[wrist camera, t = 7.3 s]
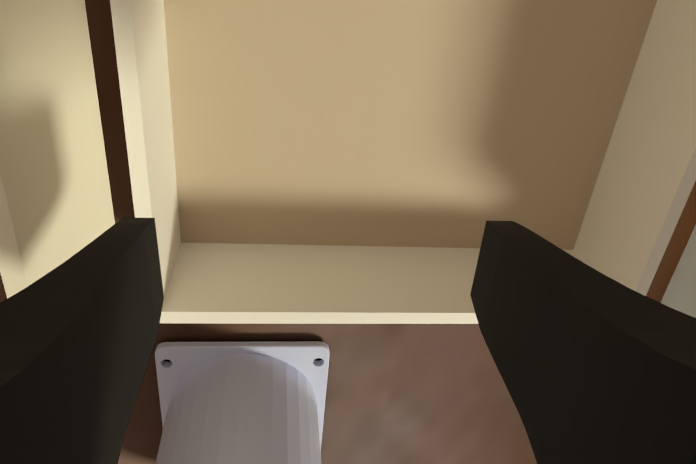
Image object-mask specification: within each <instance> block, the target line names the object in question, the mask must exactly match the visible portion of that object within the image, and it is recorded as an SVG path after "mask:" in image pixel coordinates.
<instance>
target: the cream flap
mask: <svg viewBox="0 0 696 464" xmlns="http://www.w3.org/2000/svg"><path fill="white" fill-rule="evenodd" d="M114 224H115V220H114V213H113V205H112V198H111V191H110V183H109V176H108V169H107V161H106V154H105V146H104V139H103V132H102V124H101V117H100V110H99V102H98V95H97V88H96V80H95V73H94V66H93V58H92V51H91V44H90V36H89V29H88V22H87V14H86V7H85V0H0V273H1V277H2V281H3V285H4V288H5V292H6V296H7V299H8V298H9V297H11V296H13V295H15V294H16V293H18V292H20V291H21V290H23V289H25V288H26V287H28V286H29V285H31V284H32V283H34V282H35V281H37V280H38V279H40V278H41V277H43V276H44V275H46V274H47V273H49V272H50V271H52V270H53V269H55V268H56V267H58V266H59V265H61V264H62V263H64V262H65V261H67V260H68V259H69V258H71V257H72V256H73V255H75V254H76V253H77V252H79V251H80V250H81V249H83V248H84V247H85V246H87V245H88V244H89V243H91V242H92V241H93V240H95V239H96V238H97V237H99V236H100V235H101V234H102V233H104V232H105V231H106V230H108V229H109V228H110V227H112V226H113V225H114Z"/></svg>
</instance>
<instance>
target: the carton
mask: <svg viewBox="0 0 696 464" xmlns="http://www.w3.org/2000/svg"><path fill="white" fill-rule="evenodd" d="M110 6H111V14H112V23H113V32H114V40H115V49H116V58H117V66H118V75H119V84H120V92H121V101H122V110H123V119H124V127H125V136H126V145H127V153H128V162H129V171H130V179H131V188H132V197H133V205H134V214H135V218H155V226H156V234H157V242H158V251H159V259H160V268H161V276H162V285H163V293H164V300H163V306H162V312H161V317H160V323H271V324H478V320H477V317H476V314H475V310H474V307H473V303H472V299H471V296H470V293H471V289H472V284H473V280H474V275H475V270H476V266H477V261H478V256H479V252H480V247H481V243H482V238H483V233H484V229H485V224H486V221H514V222H516V223H518V224H520V225H522V226H524V227H526V228H527V229H529V230H531V231H533V232H534V233H536V234H538V235H539V236H541V237H543V238H544V239H546V240H547V241H549V242H551V243H552V244H554V245H556V246H557V247H559V248H560V249H562V250H564V251H565V252H567V253H568V254H570V255H572V256H573V257H575V258H577V259H578V260H580V261H582V262H583V263H585V264H587V265H588V266H590V267H592V268H594V269H595V270H597V271H599V272H600V273H602V274H604V275H606V276H608V277H610V278H611V279H613V280H615V281H617V282H619V283H621V284H622V285H624V286H626V287H628V288H630V289H632V290H634V291H636V292H638V293H640V294H642V295H644V296H646V294H647V292H648V289H649V287H650V285H651V282H652V280H653V278H654V276H655V273H656V271H657V269H658V266H659V264H660V262H661V259H662V257H663V255H664V252H665V250H666V248H667V245H668V243H669V241H670V238H671V236H672V234H673V232H674V229H675V227H676V225H677V222H678V220H679V218H680V215H681V213H682V211H683V208H684V206H685V204H686V201H687V199H688V197H689V194H690V192H691V190H692V187H693V185H694V183H695V181H696V0H110Z"/></svg>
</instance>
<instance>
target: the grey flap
mask: <svg viewBox="0 0 696 464" xmlns="http://www.w3.org/2000/svg"><path fill="white" fill-rule="evenodd" d="M661 303H662V304H664V305H666V306H668V307H671V308H673V309H675V310H677V311H680V312H682V313H685V314H687V315H690V316H692V317H695V318H696V225H695V228H694V230H693V232H692V234H691V236H690V239H689V241H688V243H687V245H686V247H685V250H684V252H683V254H682V256H681V259H680V261H679V263H678V265H677V267H676V270H675V272H674V274H673V276H672V278H671V281H670V283H669V285H668V287H667V290H666V292H665V294H664V296H663V298H662V301H661Z"/></svg>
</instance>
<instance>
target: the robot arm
mask: <svg viewBox="0 0 696 464" xmlns="http://www.w3.org/2000/svg"><path fill="white" fill-rule="evenodd" d="M470 296H471V299H472V303H473V307H474V310H475V314H476V317H477V320H478V324H479V327H480V330H481V333H482V335H483V337H484V339H485V342H486V344H487V346H488V348H489V350H490V353H491V355H492V357H493V359H494V361H495V363H496V365H497V368H498V370H499V372H500V374H501V376H502V378H503V380H504V382H505V384H506V387H507V389H508V391H509V393H510V395H511V397H512V399H513V401H514V404H515V406H516V408H517V410H518V412H519V414H520V417H521V419H522V422H523V424H524V426H525V429H526V432H527V434H528V437H529V440H530V443H531V446H532V449H533V452H534V455H535V458H536V461H537V464H696V318H695V317H692V316H690V315H687V314H685V313H682V312H680V311H677V310H675V309H673V308H671V307H668V306H666V305H664V304H662V303H660V302H657V301H655V300H653V299H651V298H649V297H646V296H644V295H642V294H640V293H638V292H636V291H634V290H632V289H630V288H628V287H626V286H624V285H622V284H621V283H619V282H617V281H615V280H613V279H611V278H610V277H608V276H606V275H604V274H602V273H600V272H599V271H597V270H595V269H594V268H592V267H590V266H588V265H587V264H585V263H583V262H582V261H580V260H578V259H577V258H575V257H573V256H572V255H570V254H568V253H567V252H565V251H564V250H562V249H560V248H559V247H557V246H556V245H554V244H552V243H551V242H549V241H547V240H546V239H544V238H543V237H541V236H539V235H538V234H536V233H534V232H533V231H531V230H529V229H527V228H526V227H524V226H522V225H520V224H518V223H516V222H514V221H486V224H485V229H484V233H483V238H482V243H481V247H480V252H479V256H478V261H477V266H476V270H475V275H474V280H473V284H472V289H471V293H470ZM163 300H164V293H163V285H162V276H161V268H160V259H159V251H158V242H157V234H156V226H155V218H123V219H121V220H120V221H118V222H117V223H116V224H114V225H113V226H112V227H110V228H109V229H108V230H106V231H105V232H104V233H102V234H101V235H100V236H99V237H97V238H96V239H95V240H93V241H92V242H91V243H89V244H88V245H87V246H85V247H84V248H83V249H81V250H80V251H79V252H77V253H76V254H75V255H73V256H72V257H71V258H69V259H68V260H67V261H65V262H64V263H62V264H61V265H59V266H58V267H56V268H55V269H53V270H52V271H50V272H49V273H47V274H46V275H44V276H43V277H41V278H40V279H38V280H37V281H35V282H34V283H32V284H31V285H29V286H28V287H26V288H25V289H23V290H21V291H20V292H18V293H16V294H15V295H13V296H11V297H9V298H8V299H6V300H4V301H2V302H1V303H0V464H118V460H119V455H120V451H121V446H122V443H123V439H124V436H125V432H126V428H127V425H128V422H129V419H130V416H131V413H132V410H133V407H134V404H135V401H136V398H137V395H138V392H139V389H140V386H141V383H142V380H143V377H144V374H145V372H146V369H147V366H148V362H149V359H150V356H151V353H152V350H153V347H154V344H155V341H156V338H157V333H158V328H159V323H160V317H161V312H162V306H163ZM329 356H330V352H329V346H328V345H327V344H326V343H324V342H320V341H298V342H163V343H160V344H158V346H157V347H156V350H155V363H156V372H157V381H158V390H159V399H160V408H161V417H162V426H163V431H162V436H161V440H160V445H159V450H158V454H157V459H156V463H155V464H321V453H320V452H321V442H322V431H323V420H324V409H325V399H326V388H327V377H328V366H329ZM317 358H320V359H322V360H319V361H316V360H315V359H317ZM165 359H167V360H170V361H171V362H166V361H164V360H165Z"/></svg>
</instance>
